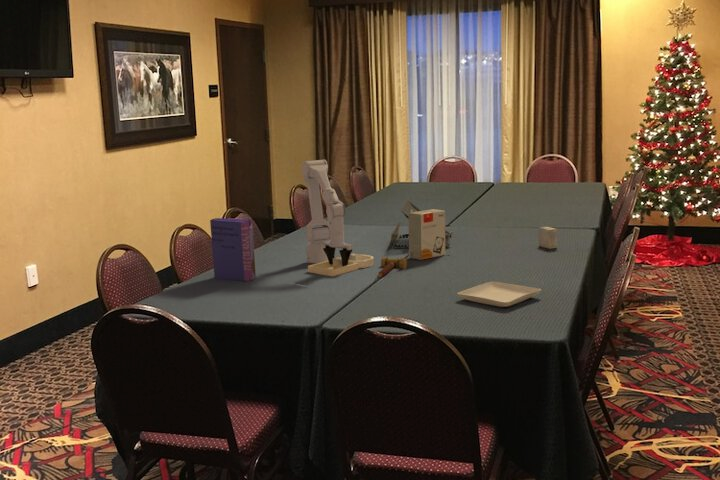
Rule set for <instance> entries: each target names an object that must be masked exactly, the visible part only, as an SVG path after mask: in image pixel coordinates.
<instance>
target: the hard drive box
mask: <svg viewBox="0 0 720 480" xmlns="http://www.w3.org/2000/svg"><path fill="white" fill-rule="evenodd" d="M408 216H409V219H408V234H409V236H408V245H409V249H408V257H409V258H410V259H414V260H419V261H423V260H428V259H430V258H431V259H432V258H435V257H436V258H437V257H441V256H445V255H446V247H445V245H446V244H445V240H446V238H445V234H446V233H445V230H446V210H444V209H443V210H442V209H434V208H432V209H426V210H421V211H417V212H415V211H414V212H408Z"/></svg>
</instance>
